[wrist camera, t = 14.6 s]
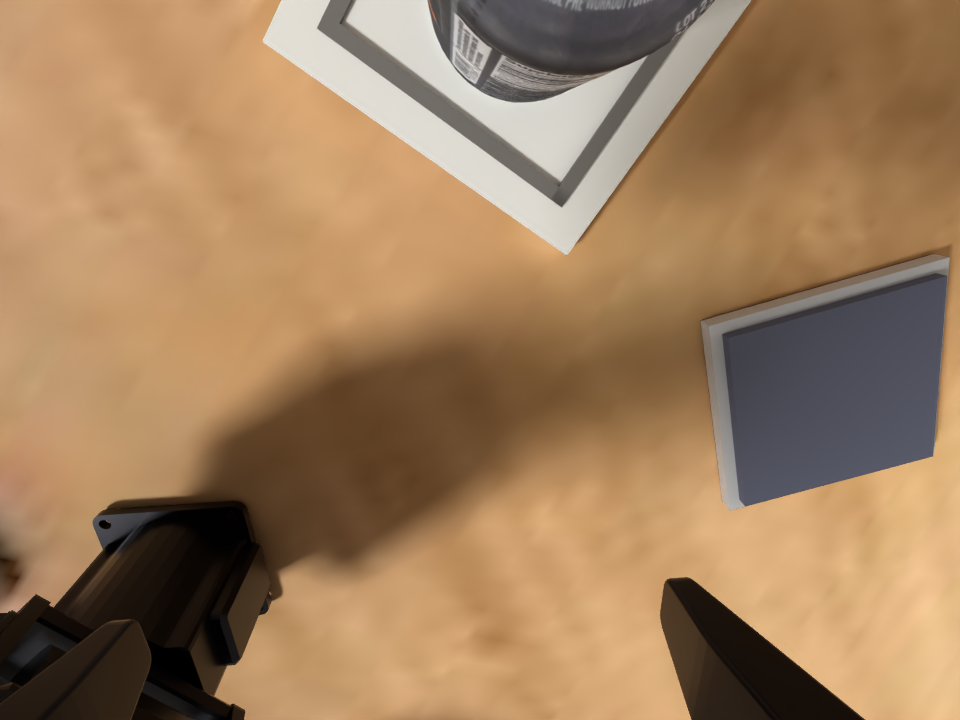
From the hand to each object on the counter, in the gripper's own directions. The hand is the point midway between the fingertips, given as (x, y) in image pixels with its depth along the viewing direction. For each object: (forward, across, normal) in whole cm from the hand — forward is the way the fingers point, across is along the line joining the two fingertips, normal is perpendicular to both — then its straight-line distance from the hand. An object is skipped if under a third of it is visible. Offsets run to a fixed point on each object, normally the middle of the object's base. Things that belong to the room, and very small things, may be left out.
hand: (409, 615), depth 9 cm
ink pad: (+13, -17, +3) cm, 22 cm away
